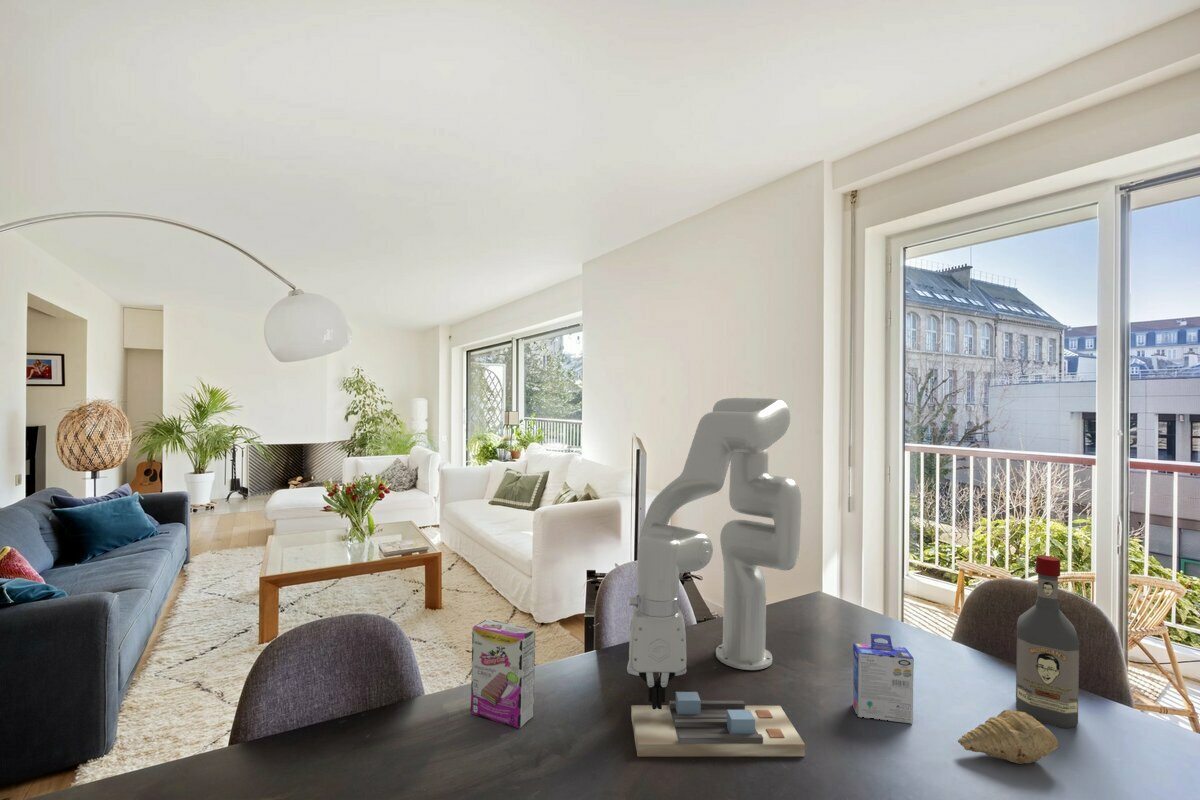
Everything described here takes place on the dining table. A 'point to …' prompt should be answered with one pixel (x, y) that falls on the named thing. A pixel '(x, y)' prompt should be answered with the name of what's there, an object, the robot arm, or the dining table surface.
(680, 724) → the switch board
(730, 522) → the robot arm
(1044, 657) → the liquor
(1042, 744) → the seashell
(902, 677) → the ink cartridge box
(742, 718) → the tab
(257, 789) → the dining table surface
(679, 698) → the tab
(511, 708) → the candy bar box
